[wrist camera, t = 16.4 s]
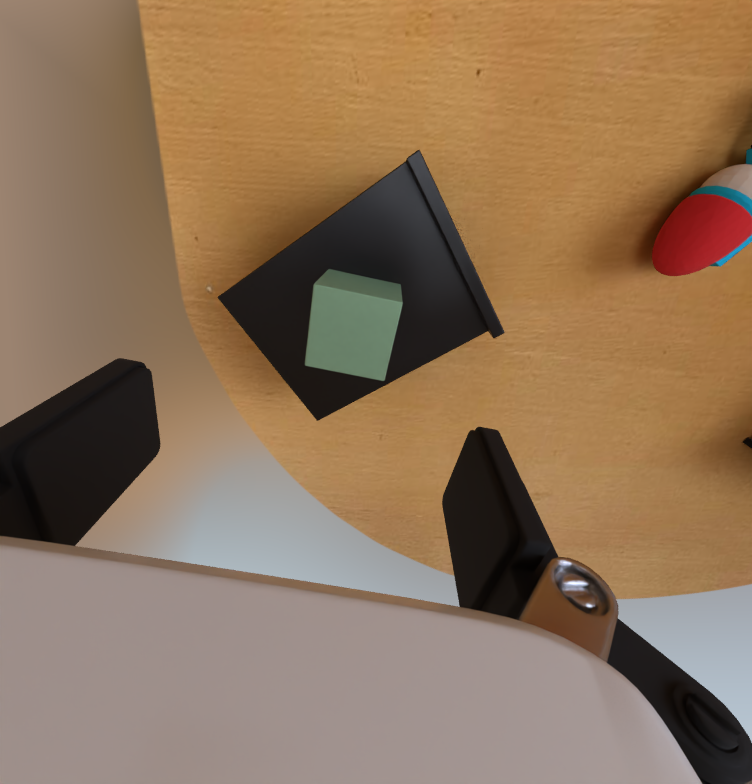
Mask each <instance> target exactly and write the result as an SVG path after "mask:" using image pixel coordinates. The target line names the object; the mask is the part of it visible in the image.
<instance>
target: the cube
mask: <svg viewBox="0 0 752 784" xmlns="http://www.w3.org/2000/svg"><path fill="white" fill-rule="evenodd" d="M402 304H403V302H402V292H401V285H400V284H397V283H392V282H387V281H383V280H378V279H373V278H369V277H364V276H359V275H355V274H350V273H345V272H341V271H336V270H331V269H328V270H327V271H326V272H325V273H324V274H323V275H322V276H321V277H320V278H319V279H318V280H317V281H316V282H315V283H314V285H313V294H312V303H311V312H310V321H309V330H308V339H307V348H306V357H305V366H310V367H315V368H320V369H325V370H330V371H335V372H340V373H346V374H351V375H356V376H361V377H366V378H371V379H376V380H381V381H384V380H385V376H386V372H387V368H388V364H389V359H390V355H391V351H392V347H393V342H394V338H395V334H396V330H397V326H398V321H399V317H400V313H401V309H402Z"/></svg>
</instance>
